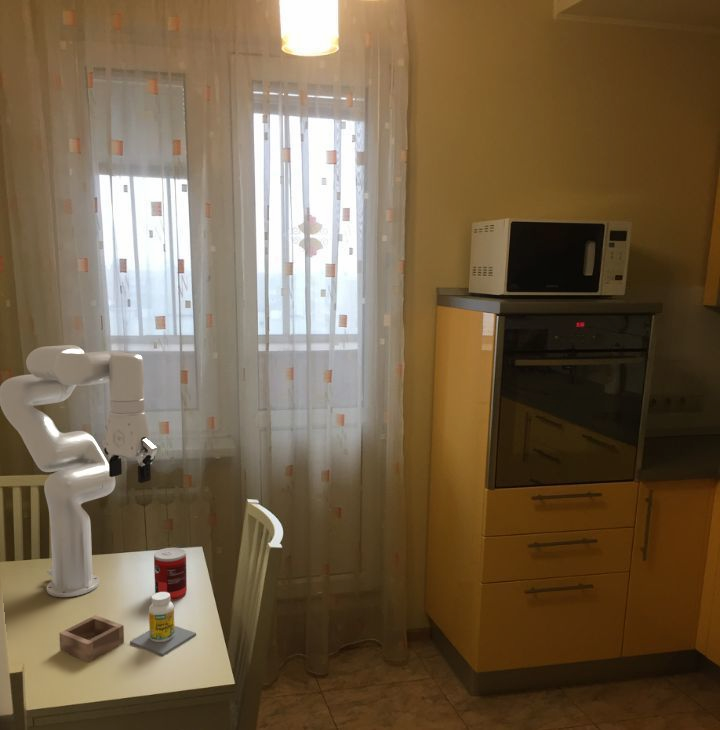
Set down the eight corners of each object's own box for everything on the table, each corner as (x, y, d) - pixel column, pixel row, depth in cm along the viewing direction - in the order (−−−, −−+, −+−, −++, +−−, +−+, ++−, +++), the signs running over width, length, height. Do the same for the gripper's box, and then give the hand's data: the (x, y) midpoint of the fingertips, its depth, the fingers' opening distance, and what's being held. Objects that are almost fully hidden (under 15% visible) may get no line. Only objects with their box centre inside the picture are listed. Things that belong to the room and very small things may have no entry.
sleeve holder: (60, 650, 142) (59, 633, 141) (96, 631, 150) (95, 615, 149) (88, 662, 137) (87, 644, 137) (124, 642, 145) (123, 625, 145)
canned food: (163, 586, 173) (162, 546, 172) (191, 588, 172) (191, 548, 171) (149, 599, 166) (148, 557, 165) (179, 602, 165) (178, 559, 163)
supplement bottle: (170, 628, 151) (169, 588, 150) (178, 638, 146) (177, 597, 145) (146, 635, 148) (145, 594, 147) (153, 645, 143) (152, 603, 142)
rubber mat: (129, 643, 145) (129, 641, 145) (164, 624, 154) (164, 621, 154) (162, 655, 140) (162, 653, 140) (196, 635, 149) (196, 633, 149)
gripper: (89, 405, 154) (91, 477, 156) (141, 412, 146) (143, 488, 148) (115, 401, 161) (117, 470, 163) (166, 407, 152) (168, 480, 154)
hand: (129, 478), depth 155 cm, fingers open, 9 cm apart
